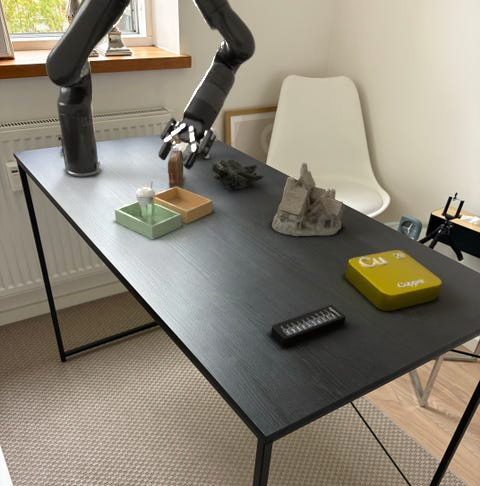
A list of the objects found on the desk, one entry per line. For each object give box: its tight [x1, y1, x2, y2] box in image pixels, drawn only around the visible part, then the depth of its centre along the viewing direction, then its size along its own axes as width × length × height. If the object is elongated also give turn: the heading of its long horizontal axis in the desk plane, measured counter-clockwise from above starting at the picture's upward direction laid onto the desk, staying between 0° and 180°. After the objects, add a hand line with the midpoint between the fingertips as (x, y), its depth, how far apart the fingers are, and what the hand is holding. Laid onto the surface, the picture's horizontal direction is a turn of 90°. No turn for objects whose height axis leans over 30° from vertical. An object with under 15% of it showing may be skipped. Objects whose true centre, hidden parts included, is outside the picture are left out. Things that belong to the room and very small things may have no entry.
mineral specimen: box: [210, 158, 264, 191], centre depth 143 cm, size 15×13×10 cm
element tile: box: [344, 249, 443, 312], centre depth 104 cm, size 15×15×5 cm
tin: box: [167, 149, 184, 189], centre depth 142 cm, size 15×3×8 cm, turn 179°
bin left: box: [114, 200, 182, 240], centre depth 121 cm, size 13×10×3 cm
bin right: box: [155, 186, 213, 224], centre depth 129 cm, size 13×10×3 cm
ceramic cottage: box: [271, 162, 346, 237], centre depth 122 cm, size 16×16×15 cm
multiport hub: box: [270, 304, 347, 349], centre depth 91 cm, size 4×14×2 cm, turn 122°
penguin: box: [172, 126, 219, 160], centre depth 162 cm, size 9×8×15 cm
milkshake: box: [135, 180, 156, 225], centre depth 119 cm, size 4×5×10 cm
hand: (173, 162), depth 120 cm, fingers open, 8 cm apart
